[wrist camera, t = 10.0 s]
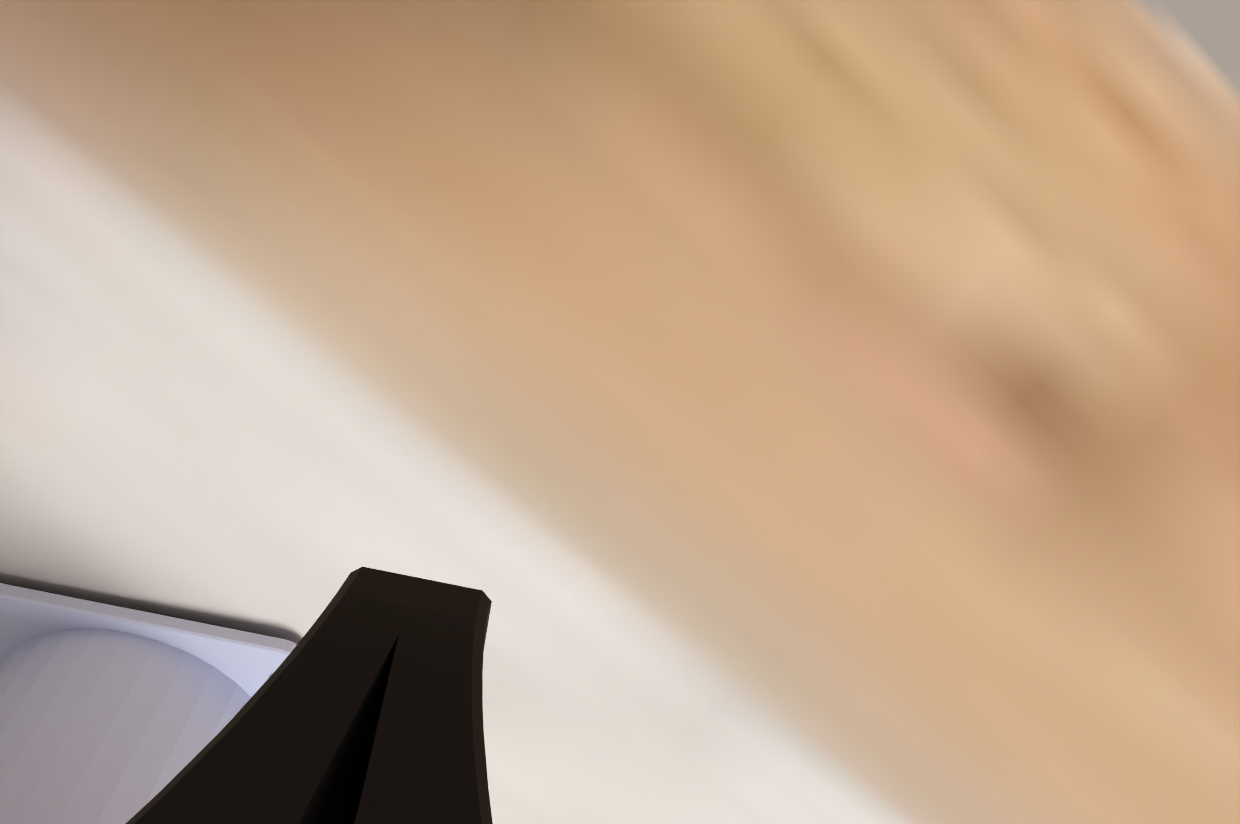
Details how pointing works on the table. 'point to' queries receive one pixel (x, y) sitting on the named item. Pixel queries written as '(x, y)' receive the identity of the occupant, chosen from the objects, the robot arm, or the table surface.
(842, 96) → the table surface
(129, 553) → the table surface
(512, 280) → the table surface
